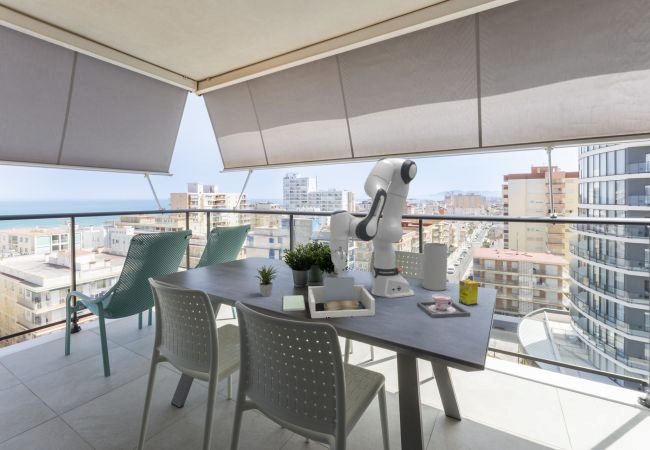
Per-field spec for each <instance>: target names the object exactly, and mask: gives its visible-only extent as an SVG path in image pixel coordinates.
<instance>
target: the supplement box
mask: <svg viewBox="0 0 650 450" xmlns="http://www.w3.org/2000/svg"><path fill="white" fill-rule="evenodd" d="M478 289H479V282H476V281H475V280H470V279H462V280H459V291H458V302H459V303H460V304H462V305H466V306H467V307H468V306H469V307H470V306H475V305H478V295H479V294H478V293H479V291H478Z"/></svg>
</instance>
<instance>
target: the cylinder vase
mask: <svg viewBox="0 0 650 450" xmlns="http://www.w3.org/2000/svg"><path fill="white" fill-rule="evenodd" d="M447 269H448V244H447V243H442V242H441V243H440V242H426V243H423V269H422V271H423V272H422V277H423V278H422V287H423V288H424V289H425V290H428V291H433V290H434V292H435V291H437V292H439V291H440V292H441V291H445V290H446V289H447V280H448V279H447V275H448V274H447V273H448V272H447Z"/></svg>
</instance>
